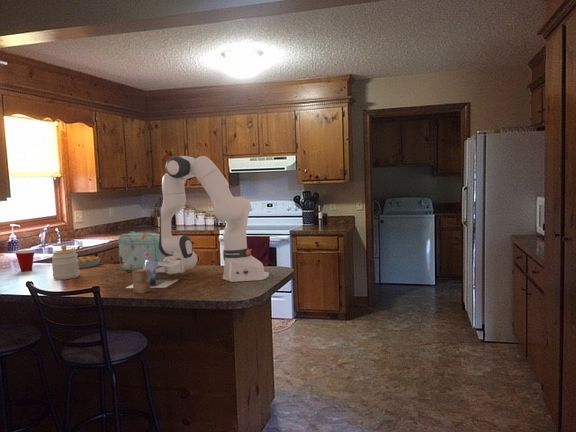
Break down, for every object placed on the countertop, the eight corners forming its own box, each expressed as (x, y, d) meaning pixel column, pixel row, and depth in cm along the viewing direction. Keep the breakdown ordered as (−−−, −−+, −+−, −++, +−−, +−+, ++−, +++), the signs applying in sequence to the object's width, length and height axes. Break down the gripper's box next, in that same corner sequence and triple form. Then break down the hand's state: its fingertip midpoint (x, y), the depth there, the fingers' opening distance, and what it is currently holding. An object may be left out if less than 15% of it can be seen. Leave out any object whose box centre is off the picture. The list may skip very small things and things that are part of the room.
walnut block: (142, 290, 211) (140, 268, 210) (150, 291, 209) (148, 269, 208) (133, 293, 207) (131, 271, 206) (141, 294, 204) (139, 271, 203)
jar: (69, 280, 244) (66, 246, 243) (47, 280, 247) (44, 247, 245) (85, 274, 257) (82, 242, 255) (64, 274, 259) (61, 243, 258)
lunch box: (116, 270, 263) (112, 233, 261) (127, 267, 273) (124, 230, 271) (157, 271, 255) (154, 232, 253) (167, 267, 265) (164, 229, 263)
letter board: (179, 280, 229) (179, 279, 229) (165, 288, 213) (165, 287, 213) (141, 280, 232) (141, 279, 232) (125, 288, 217) (125, 287, 217)
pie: (57, 266, 288) (56, 258, 287) (94, 261, 302) (93, 253, 301) (68, 271, 271) (67, 262, 271) (106, 265, 285) (105, 256, 285)
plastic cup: (36, 270, 276) (34, 250, 275) (15, 273, 273) (12, 252, 271) (38, 267, 287) (36, 248, 285) (18, 270, 283) (16, 250, 282)
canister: (157, 283, 223) (160, 260, 221) (151, 285, 218) (154, 263, 216) (147, 280, 224) (149, 258, 223) (141, 283, 219) (143, 260, 217)
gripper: (155, 257, 236) (133, 262, 224) (186, 259, 226) (165, 264, 214) (156, 269, 237) (134, 275, 225) (186, 272, 226) (165, 278, 215)
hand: (149, 270), depth 219 cm, fingers closed on canister, 6 cm apart
